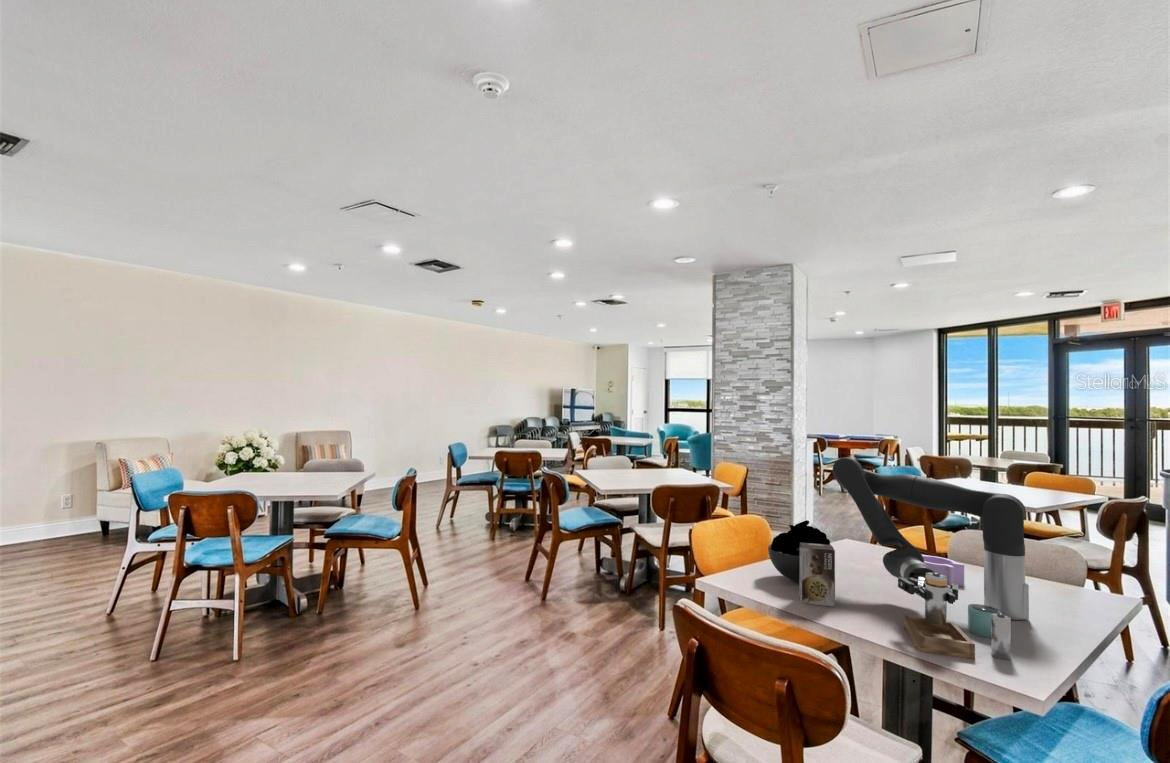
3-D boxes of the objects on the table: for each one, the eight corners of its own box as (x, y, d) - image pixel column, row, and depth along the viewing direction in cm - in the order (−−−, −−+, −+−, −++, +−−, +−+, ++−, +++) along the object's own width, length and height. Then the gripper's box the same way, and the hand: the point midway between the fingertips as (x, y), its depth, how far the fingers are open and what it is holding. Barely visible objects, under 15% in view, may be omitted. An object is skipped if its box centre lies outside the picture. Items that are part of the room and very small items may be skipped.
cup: (994, 629, 142) (994, 605, 142) (1006, 640, 135) (1006, 615, 135) (963, 625, 144) (963, 602, 144) (974, 635, 137) (974, 611, 137)
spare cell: (1006, 654, 127) (1006, 612, 127) (1013, 661, 123) (1013, 617, 124) (988, 651, 128) (988, 610, 128) (995, 658, 124) (995, 615, 125)
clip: (887, 572, 191) (887, 552, 192) (907, 568, 197) (907, 549, 198) (948, 590, 174) (948, 568, 174) (968, 585, 180) (968, 563, 180)
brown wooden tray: (953, 635, 137) (953, 621, 137) (974, 659, 124) (974, 644, 124) (903, 628, 140) (904, 615, 141) (919, 651, 127) (919, 636, 127)
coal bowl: (803, 595, 164) (804, 531, 165) (754, 575, 182) (755, 518, 183) (847, 586, 173) (848, 527, 174) (796, 569, 191) (797, 515, 192)
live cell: (943, 619, 134) (943, 571, 134) (949, 626, 130) (950, 577, 130) (922, 616, 135) (923, 569, 136) (927, 623, 131) (928, 574, 131)
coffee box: (831, 600, 160) (832, 544, 161) (835, 607, 154) (836, 549, 155) (798, 596, 163) (799, 541, 164) (800, 603, 157) (801, 546, 157)
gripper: (889, 559, 149) (906, 578, 132) (949, 566, 144) (974, 586, 128) (888, 587, 148) (905, 609, 132) (949, 594, 144) (974, 618, 128)
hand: (939, 598), depth 130 cm, fingers closed on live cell, 4 cm apart
